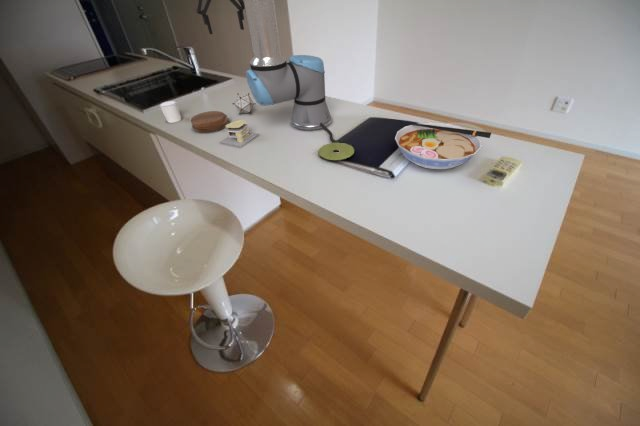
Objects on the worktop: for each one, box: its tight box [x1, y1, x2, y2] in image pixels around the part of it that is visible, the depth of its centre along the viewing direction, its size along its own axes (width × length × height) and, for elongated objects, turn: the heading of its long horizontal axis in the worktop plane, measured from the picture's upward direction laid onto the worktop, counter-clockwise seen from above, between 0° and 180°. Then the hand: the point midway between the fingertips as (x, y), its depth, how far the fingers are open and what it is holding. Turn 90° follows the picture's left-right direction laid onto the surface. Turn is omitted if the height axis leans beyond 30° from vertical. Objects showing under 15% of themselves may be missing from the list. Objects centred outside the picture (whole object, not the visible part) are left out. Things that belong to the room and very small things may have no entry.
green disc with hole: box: [317, 142, 355, 161], centre depth 90 cm, size 11×11×2 cm
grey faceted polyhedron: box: [232, 92, 257, 115], centre depth 121 cm, size 9×8×10 cm
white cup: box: [159, 100, 182, 124], centre depth 120 cm, size 7×7×7 cm
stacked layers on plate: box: [220, 119, 258, 148], centre depth 103 cm, size 10×9×6 cm
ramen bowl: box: [394, 121, 492, 170], centre depth 82 cm, size 25×23×8 cm
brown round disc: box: [190, 110, 230, 134], centre depth 114 cm, size 14×14×4 cm
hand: (226, 31), depth 123 cm, fingers open, 13 cm apart
